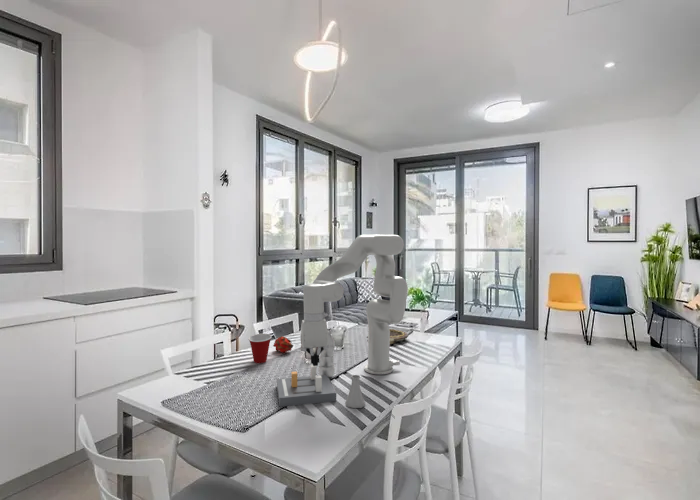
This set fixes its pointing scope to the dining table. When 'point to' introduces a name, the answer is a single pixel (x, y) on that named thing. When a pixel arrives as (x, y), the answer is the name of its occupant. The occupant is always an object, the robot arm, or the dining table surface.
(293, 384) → the block
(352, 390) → the flask
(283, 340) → the dragon fruit
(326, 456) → the dining table surface
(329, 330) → the plastic bottle
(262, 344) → the plastic cup
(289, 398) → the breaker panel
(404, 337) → the pie
